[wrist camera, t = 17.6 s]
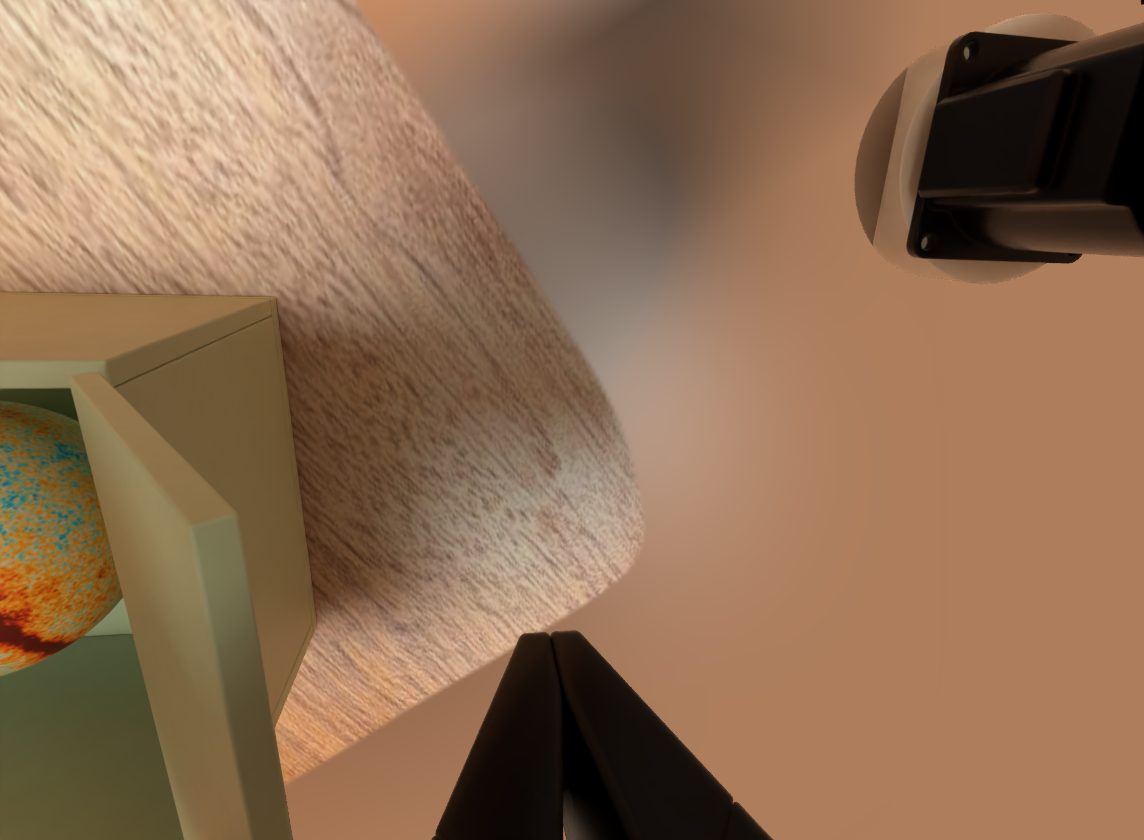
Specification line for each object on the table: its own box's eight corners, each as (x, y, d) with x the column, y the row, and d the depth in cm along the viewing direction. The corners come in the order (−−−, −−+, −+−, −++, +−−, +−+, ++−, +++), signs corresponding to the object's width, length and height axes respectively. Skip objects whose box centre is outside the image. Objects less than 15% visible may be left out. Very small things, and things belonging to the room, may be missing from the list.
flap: (66, 375, 9) (99, 370, 9) (199, 899, 13) (219, 885, 13) (186, 527, 5) (240, 511, 5) (329, 1232, 9) (353, 1202, 9)
